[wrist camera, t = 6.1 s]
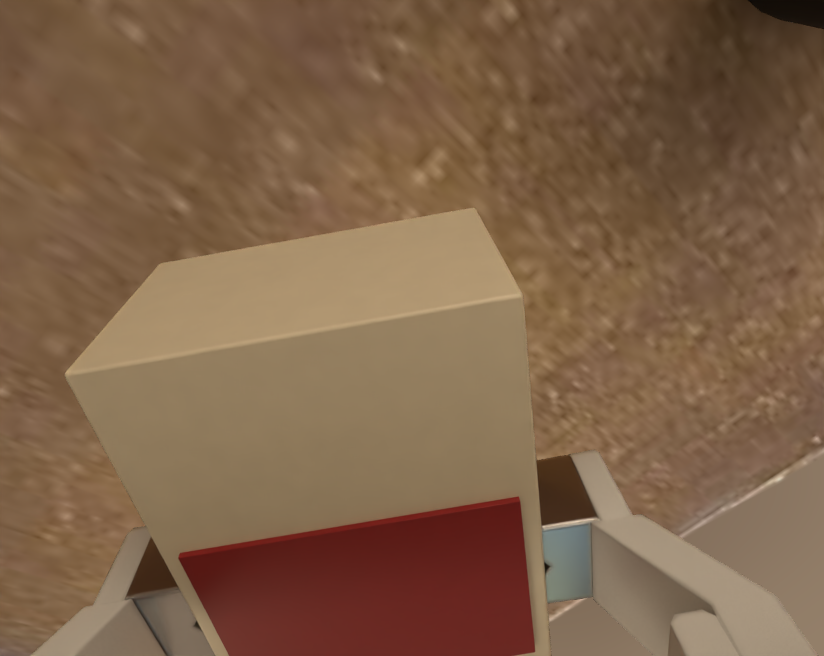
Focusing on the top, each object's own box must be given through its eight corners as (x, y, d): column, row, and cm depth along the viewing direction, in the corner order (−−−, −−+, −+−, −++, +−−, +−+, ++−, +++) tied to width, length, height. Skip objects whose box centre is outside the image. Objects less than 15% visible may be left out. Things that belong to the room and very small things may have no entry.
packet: (518, 585, 15) (560, 746, 11) (302, 620, 15) (283, 790, 12) (475, 206, 10) (525, 296, 7) (158, 262, 10) (57, 378, 7)
